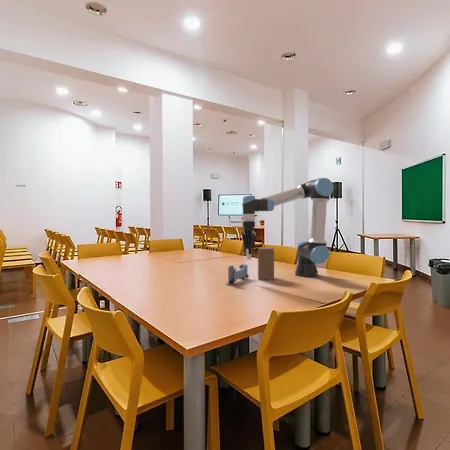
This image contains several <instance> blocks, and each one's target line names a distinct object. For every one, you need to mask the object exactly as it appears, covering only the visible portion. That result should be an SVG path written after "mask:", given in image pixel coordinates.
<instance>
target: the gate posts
mask: <svg viewBox="0 0 450 450" xmlns="http://www.w3.org/2000/svg"><path fill="white" fill-rule="evenodd" d="M242 265H244V264H243V263H242V264H241V263H240V264H239V269H242ZM234 267H235V266H234V265H228V267H227V268H228V271H227V272H228V273H227V274H228V278H227V279H228V282H226V283H225V285H226V286H237V283H236V282H234ZM244 279H246V278H244V277H242V278H239V279H238V280H244Z"/></svg>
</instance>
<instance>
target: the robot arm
mask: <svg viewBox="0 0 450 450" xmlns="http://www.w3.org/2000/svg"><path fill="white" fill-rule="evenodd" d="M334 187H335V186H334V183H333V181H331V179H330V178H327V177H318V178H316V179H311V180H309V181H307V182H305V183H302V184H299V185H297V187H295V188H292V189H287V190H285V191H281V192H278V193H274V194H272V195H268V196H266V197H263V198H262V197H261V198H255V195H243V196H242V228H243V231H241V237H242V243H243V248H245V254H246V256H245V257H246V260H252V254H253V249H254V248H255V246H256V238H257V234H258V232H255V229H254V228H255V227H256V221H255V220H256V212H257V213H258V212H272V211H273V212H274V209H275V207H277V206H280V205H283V204H286V203H289V202H293V201H296V200H298V199H301V200H304V199H308V198H310V201H312V208H311V209H312V211H311V226H310V227H311V228H310V238H309V239H308V240H306V241H299V242H298V243H297V244H298V245H297V265H296V268H295V270H294V271H295V273H294V275H295V276H298V277H303V278H304V277H306V278H311V277H312V278H313V277H314V276H315V277H318V276H317V275H319V271H318V268H317V265H318V264H323V263H325V262H326V261H327V260H328V259H329V257H330V250H329V248H328V247H327V241H326V240H325V235H326V234H325V233H326V218H327V206H328V202H329V201H330V199H331V198H330V197H331V196H330V195H332V194H333V192H334ZM316 264H317V265H316Z"/></svg>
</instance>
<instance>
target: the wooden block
mask: <svg viewBox="0 0 450 450" xmlns="http://www.w3.org/2000/svg"><path fill="white" fill-rule="evenodd" d="M257 279H258V280H259V281H273V280H275V248H274V247H273V246H272V247H265V246H260V247H258V249H257Z"/></svg>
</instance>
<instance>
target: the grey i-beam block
mask: <svg viewBox="0 0 450 450" xmlns="http://www.w3.org/2000/svg"><path fill="white" fill-rule="evenodd" d="M242 277H244V278H245V279H249V274H248V264H243V265H242V269H240V268H239V269H237V268H234V283H236V282H237V280H240V279H239V278H242Z"/></svg>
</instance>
